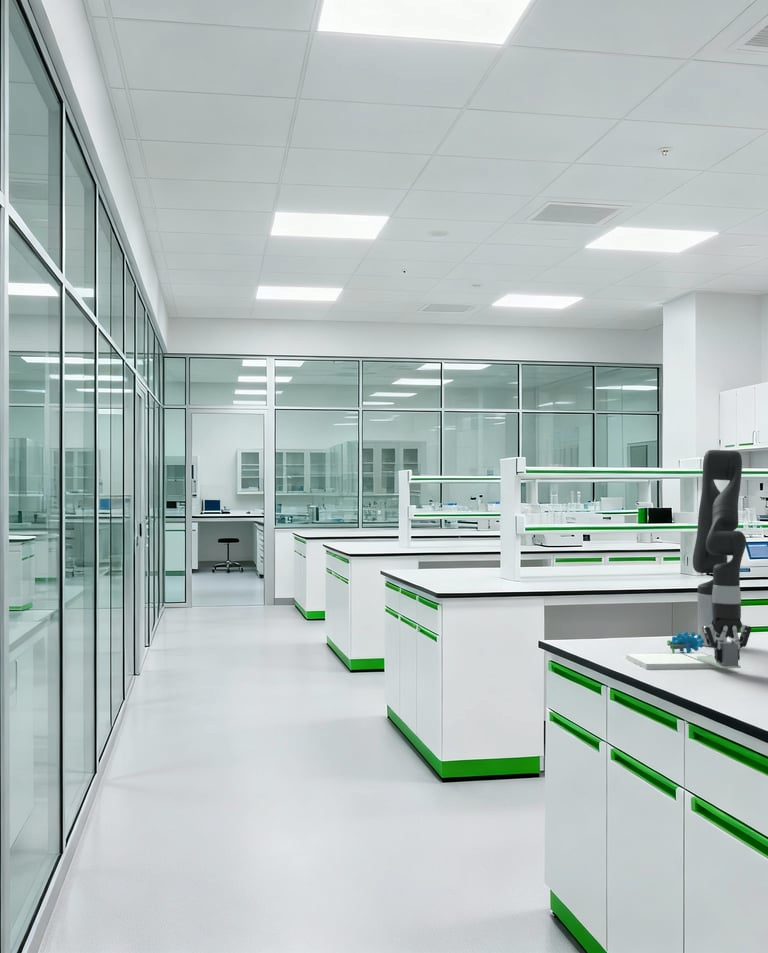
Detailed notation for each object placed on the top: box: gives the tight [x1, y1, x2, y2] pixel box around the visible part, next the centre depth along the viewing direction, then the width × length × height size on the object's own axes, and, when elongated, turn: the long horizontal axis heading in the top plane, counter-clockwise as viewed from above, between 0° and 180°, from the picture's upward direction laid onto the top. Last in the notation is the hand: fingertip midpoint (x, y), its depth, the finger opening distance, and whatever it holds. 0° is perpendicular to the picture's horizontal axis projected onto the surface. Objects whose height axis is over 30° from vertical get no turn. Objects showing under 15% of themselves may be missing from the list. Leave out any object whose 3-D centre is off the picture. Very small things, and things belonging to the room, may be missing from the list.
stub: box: [697, 641, 741, 669], centre depth 249 cm, size 16×5×7 cm, turn 5°
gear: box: [667, 631, 704, 654], centre depth 273 cm, size 11×6×10 cm
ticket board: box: [625, 652, 721, 670], centre depth 257 cm, size 16×24×2 cm, turn 95°
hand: (727, 661), depth 243 cm, fingers closed on stub, 4 cm apart
